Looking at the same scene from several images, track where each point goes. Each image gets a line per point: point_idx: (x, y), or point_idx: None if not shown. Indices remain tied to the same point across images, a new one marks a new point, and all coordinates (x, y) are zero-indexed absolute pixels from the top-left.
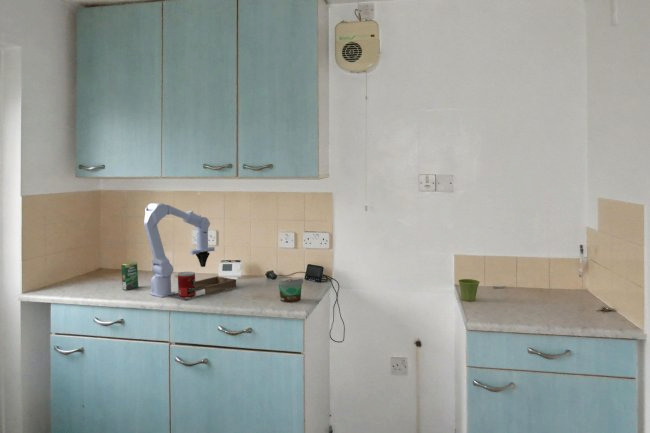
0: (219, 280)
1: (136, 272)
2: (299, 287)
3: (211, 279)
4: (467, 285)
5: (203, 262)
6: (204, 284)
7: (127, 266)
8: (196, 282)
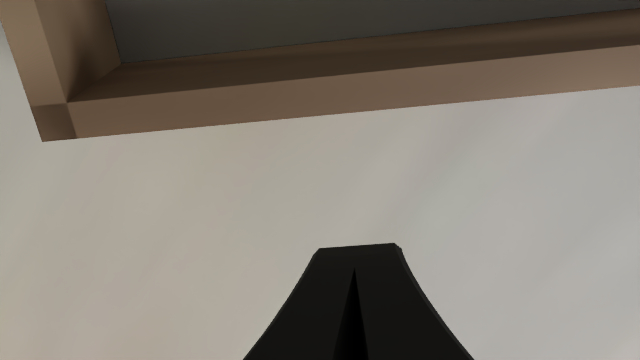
0: (73, 20)
1: None
2: None
3: (214, 79)
4: None
5: (423, 317)
6: (388, 47)
7: None
8: (600, 45)
